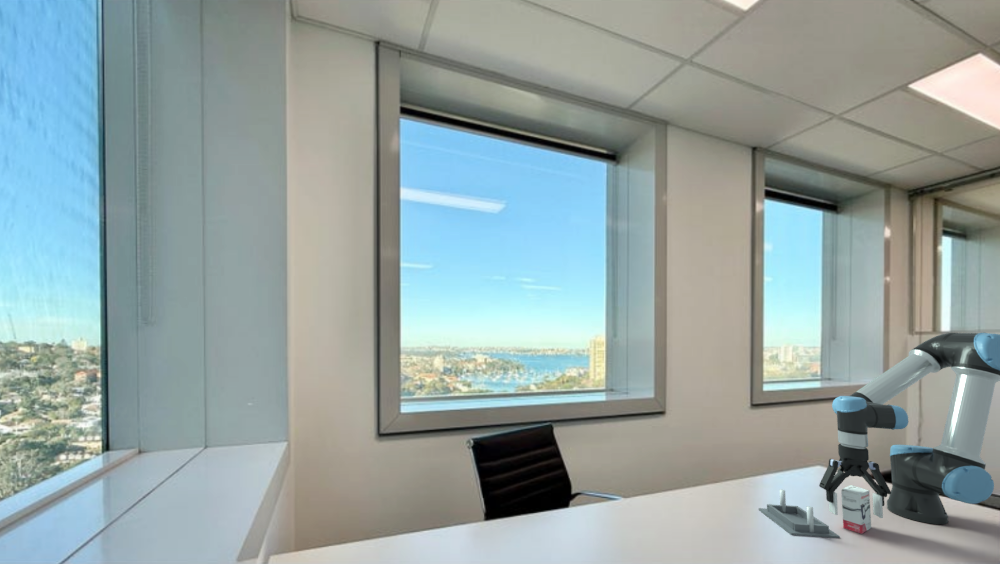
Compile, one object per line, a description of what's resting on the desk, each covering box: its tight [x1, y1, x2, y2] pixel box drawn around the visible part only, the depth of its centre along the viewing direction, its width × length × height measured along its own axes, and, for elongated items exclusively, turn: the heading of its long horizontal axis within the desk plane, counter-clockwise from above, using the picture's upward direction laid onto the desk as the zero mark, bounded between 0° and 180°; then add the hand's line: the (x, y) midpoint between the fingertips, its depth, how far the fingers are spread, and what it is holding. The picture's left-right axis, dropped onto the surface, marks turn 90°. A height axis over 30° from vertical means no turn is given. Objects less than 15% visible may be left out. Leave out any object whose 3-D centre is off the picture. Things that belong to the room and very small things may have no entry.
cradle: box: [758, 488, 841, 539], centre depth 138 cm, size 14×18×8 cm
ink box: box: [841, 485, 872, 535], centre depth 136 cm, size 8×5×12 cm, turn 123°
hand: (855, 514), depth 135 cm, fingers open, 13 cm apart
